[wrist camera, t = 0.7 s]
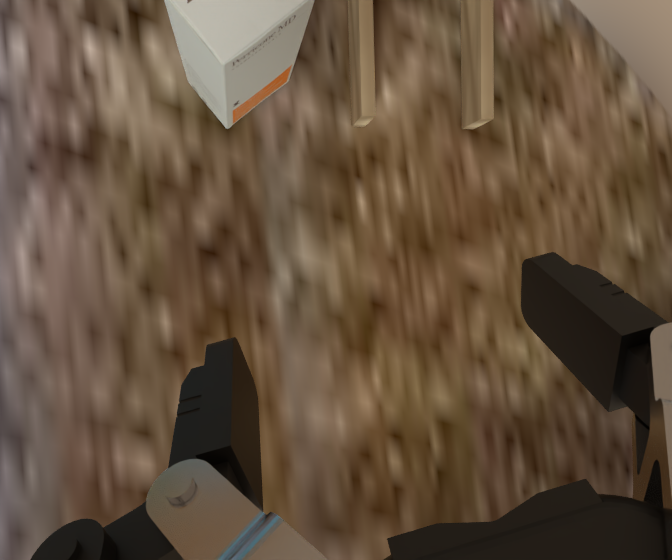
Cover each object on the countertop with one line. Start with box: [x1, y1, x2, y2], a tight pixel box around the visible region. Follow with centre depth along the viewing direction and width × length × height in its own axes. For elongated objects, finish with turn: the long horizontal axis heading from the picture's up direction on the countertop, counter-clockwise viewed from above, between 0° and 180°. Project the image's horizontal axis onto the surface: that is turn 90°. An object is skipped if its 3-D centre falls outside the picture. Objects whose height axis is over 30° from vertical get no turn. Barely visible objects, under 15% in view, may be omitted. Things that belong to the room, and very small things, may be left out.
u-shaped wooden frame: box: [348, 0, 494, 129], centre depth 33 cm, size 10×11×3 cm
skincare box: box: [164, 0, 315, 129], centre depth 27 cm, size 6×4×12 cm
